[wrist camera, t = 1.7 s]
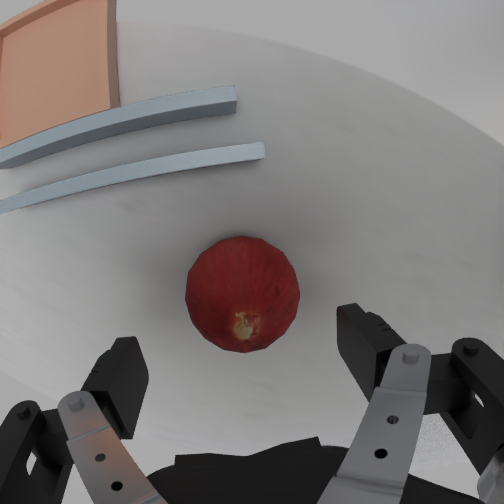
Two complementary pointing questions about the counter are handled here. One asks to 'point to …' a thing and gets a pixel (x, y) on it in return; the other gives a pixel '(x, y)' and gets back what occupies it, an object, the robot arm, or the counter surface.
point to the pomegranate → (242, 294)
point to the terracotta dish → (56, 66)
